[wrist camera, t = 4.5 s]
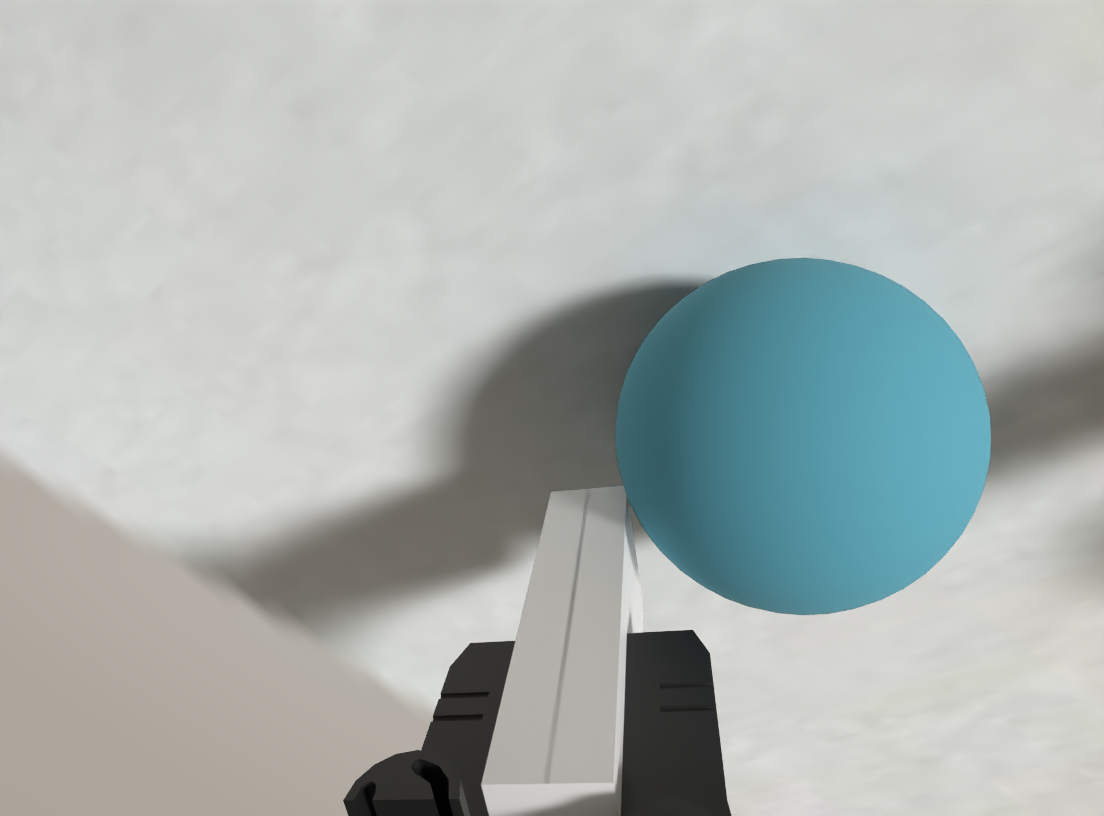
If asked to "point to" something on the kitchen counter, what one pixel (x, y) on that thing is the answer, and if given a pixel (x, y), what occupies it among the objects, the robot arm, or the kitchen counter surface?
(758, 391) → the ball
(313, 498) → the kitchen counter surface
